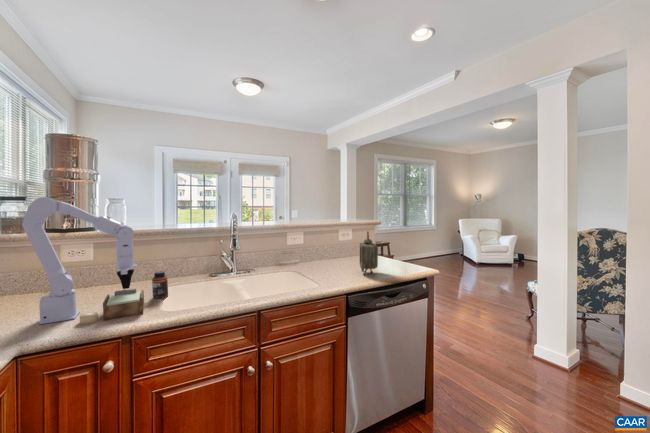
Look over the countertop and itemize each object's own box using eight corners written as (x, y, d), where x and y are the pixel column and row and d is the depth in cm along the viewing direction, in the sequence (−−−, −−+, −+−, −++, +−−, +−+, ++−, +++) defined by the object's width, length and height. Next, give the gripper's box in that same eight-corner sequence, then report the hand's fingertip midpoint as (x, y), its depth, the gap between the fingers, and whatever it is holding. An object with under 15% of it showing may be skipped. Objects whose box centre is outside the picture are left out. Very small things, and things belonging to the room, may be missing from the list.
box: (103, 320, 103) (102, 303, 103) (107, 310, 113) (107, 294, 112) (143, 313, 109) (142, 297, 109) (144, 304, 119) (143, 289, 118)
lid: (106, 305, 104) (106, 300, 103) (110, 297, 113) (110, 291, 113) (139, 301, 109) (139, 295, 108) (140, 293, 118) (140, 287, 118)
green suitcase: (359, 270, 177) (359, 229, 176) (374, 270, 177) (374, 230, 176) (361, 276, 163) (361, 232, 162) (377, 276, 163) (378, 232, 161)
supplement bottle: (164, 294, 133) (164, 269, 132) (170, 296, 129) (169, 271, 128) (150, 297, 128) (149, 272, 127) (155, 300, 124) (155, 274, 124)
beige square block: (78, 325, 99) (77, 318, 99) (81, 320, 103) (81, 313, 103) (96, 322, 101) (96, 315, 101) (99, 317, 106) (98, 310, 106)
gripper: (135, 257, 113) (137, 291, 114) (137, 251, 126) (138, 282, 126) (113, 259, 110) (115, 294, 110) (117, 253, 122) (119, 284, 123)
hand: (126, 288), depth 118 cm, fingers closed
